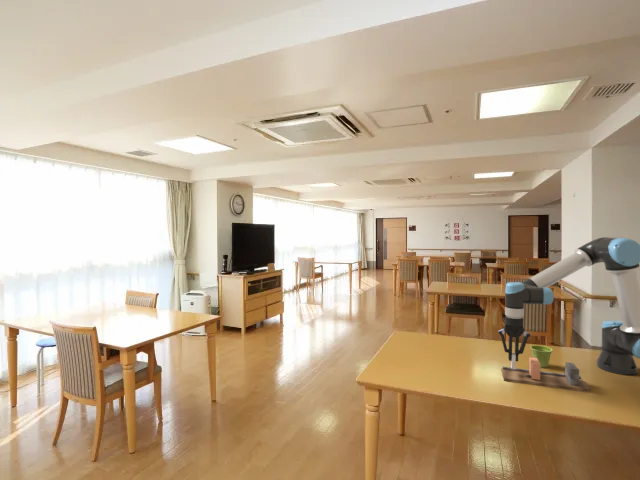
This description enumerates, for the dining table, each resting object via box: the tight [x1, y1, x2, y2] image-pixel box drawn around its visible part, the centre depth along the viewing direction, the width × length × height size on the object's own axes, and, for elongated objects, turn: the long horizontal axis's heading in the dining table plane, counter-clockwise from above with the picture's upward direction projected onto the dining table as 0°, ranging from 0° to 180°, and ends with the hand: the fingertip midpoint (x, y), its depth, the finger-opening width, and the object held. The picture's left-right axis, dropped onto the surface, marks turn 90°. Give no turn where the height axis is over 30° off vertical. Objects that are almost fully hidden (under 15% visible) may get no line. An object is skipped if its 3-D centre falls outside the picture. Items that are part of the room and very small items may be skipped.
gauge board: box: [500, 361, 591, 393], centre depth 161 cm, size 32×12×8 cm, turn 69°
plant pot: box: [530, 344, 553, 369], centre depth 179 cm, size 9×9×9 cm
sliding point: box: [528, 356, 541, 380], centre depth 162 cm, size 3×8×7 cm, turn 159°
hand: (513, 367), depth 165 cm, fingers closed
